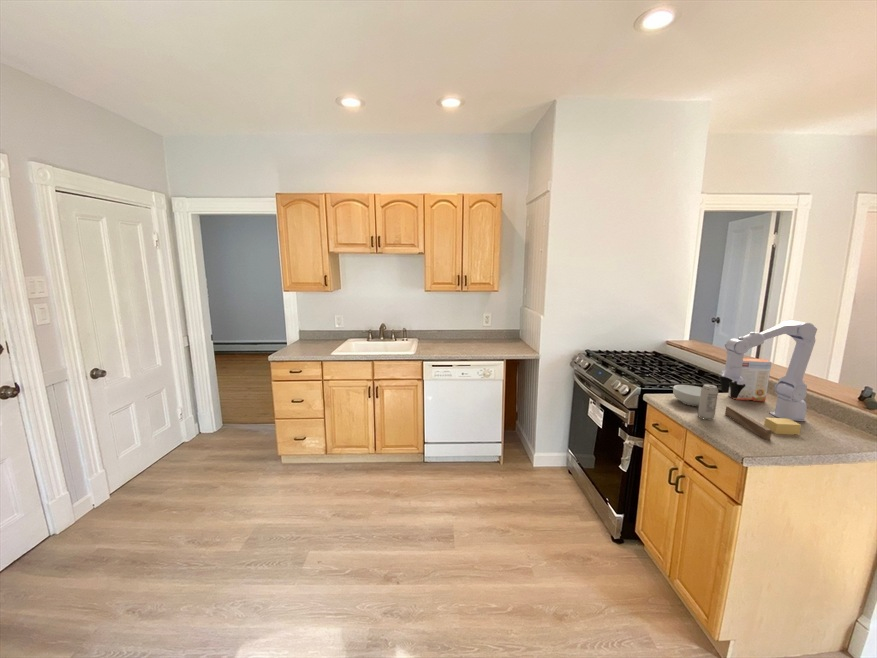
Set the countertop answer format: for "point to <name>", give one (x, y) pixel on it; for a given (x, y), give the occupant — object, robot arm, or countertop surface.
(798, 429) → the ochre block
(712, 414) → the energy drink can
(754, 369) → the cracker box
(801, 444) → the countertop surface
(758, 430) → the walnut board
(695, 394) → the cereal bowl
